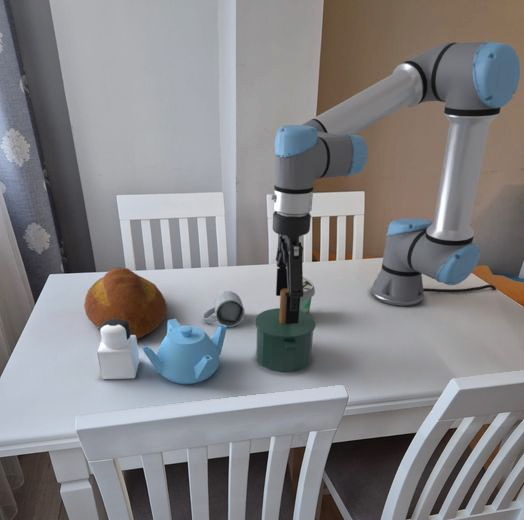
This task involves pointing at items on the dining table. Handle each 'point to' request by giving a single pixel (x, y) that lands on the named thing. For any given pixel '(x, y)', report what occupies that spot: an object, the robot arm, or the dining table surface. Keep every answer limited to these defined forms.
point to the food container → (306, 295)
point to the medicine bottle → (117, 350)
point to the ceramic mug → (226, 310)
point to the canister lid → (275, 322)
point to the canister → (283, 352)
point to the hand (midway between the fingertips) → (286, 308)
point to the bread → (126, 301)
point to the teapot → (187, 353)
